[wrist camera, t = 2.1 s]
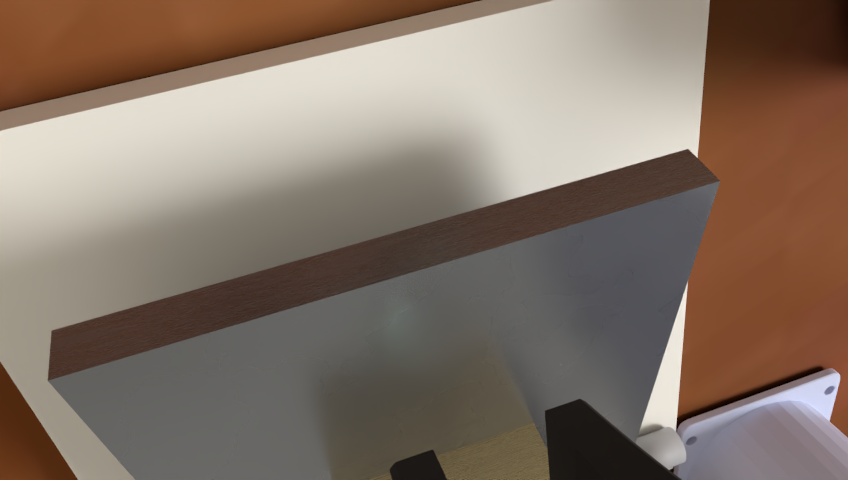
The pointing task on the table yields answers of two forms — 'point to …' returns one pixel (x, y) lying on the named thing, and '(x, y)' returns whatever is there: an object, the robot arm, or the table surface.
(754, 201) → the table surface
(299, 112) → the base board
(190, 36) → the table surface
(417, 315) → the plate
